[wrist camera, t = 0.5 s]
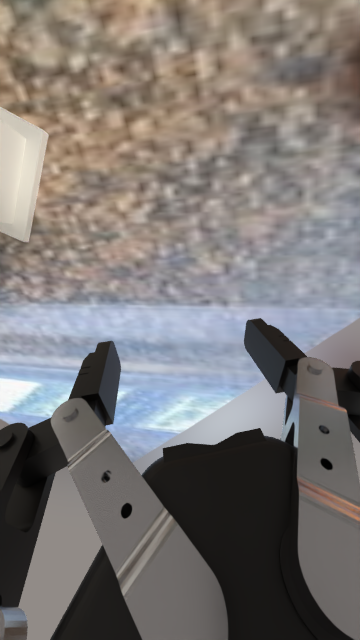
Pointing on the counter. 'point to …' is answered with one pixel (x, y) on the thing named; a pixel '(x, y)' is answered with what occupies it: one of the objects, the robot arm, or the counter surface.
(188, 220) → the counter surface
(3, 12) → the counter surface
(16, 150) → the mount
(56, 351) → the counter surface
